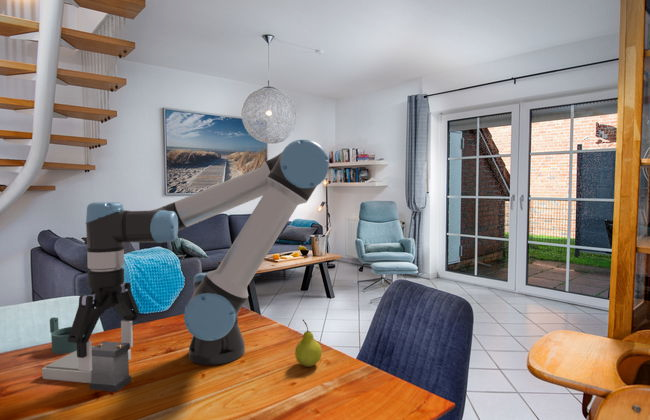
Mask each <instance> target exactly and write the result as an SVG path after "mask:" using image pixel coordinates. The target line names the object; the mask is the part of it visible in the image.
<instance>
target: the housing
mask: <svg viewBox="0 0 650 420" xmlns="http://www.w3.org/2000/svg"><path fill="white" fill-rule="evenodd" d="M93 346H94V347H92V370H91V381H92V382H91V383H89V390H95V391H103V392H111V393H117V392H118V391H120V390H121V389H123V388H125V386H127V385H128V384H129V383H131V382H132V376H131V375H130V369H129V368H130V367H129V365H130V364H129V360H128V350H129V349H131V347H130V343H122V342H121V341H119V342H118V341H107V340H106V341H105V340H104V341H101V342H100V343H97V344H96V345H93Z"/></svg>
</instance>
